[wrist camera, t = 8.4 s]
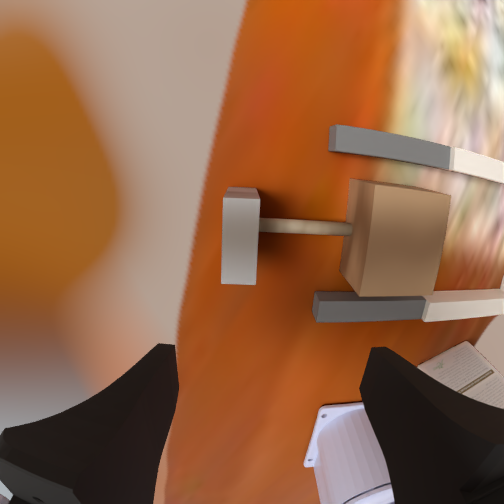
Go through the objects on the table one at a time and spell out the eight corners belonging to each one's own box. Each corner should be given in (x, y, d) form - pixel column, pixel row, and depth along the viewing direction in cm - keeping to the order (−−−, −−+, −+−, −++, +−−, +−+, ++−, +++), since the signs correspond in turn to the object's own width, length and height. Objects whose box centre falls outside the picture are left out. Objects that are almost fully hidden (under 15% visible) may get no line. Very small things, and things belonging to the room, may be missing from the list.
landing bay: (412, 309, 21) (421, 318, 19) (311, 311, 21) (316, 322, 19) (438, 146, 17) (450, 146, 16) (329, 126, 17) (336, 124, 16)
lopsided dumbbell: (403, 272, 20) (440, 302, 15) (226, 267, 20) (221, 302, 15) (417, 187, 18) (461, 198, 14) (229, 170, 18) (224, 174, 13)
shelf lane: (504, 303, 21) (523, 317, 18) (412, 309, 21) (430, 329, 18) (529, 174, 18) (553, 179, 15) (438, 146, 17) (464, 147, 14)
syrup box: (415, 364, 23) (497, 492, 9) (468, 337, 22) (561, 439, 8) (416, 404, 24) (477, 517, 10) (464, 378, 24) (536, 475, 10)
